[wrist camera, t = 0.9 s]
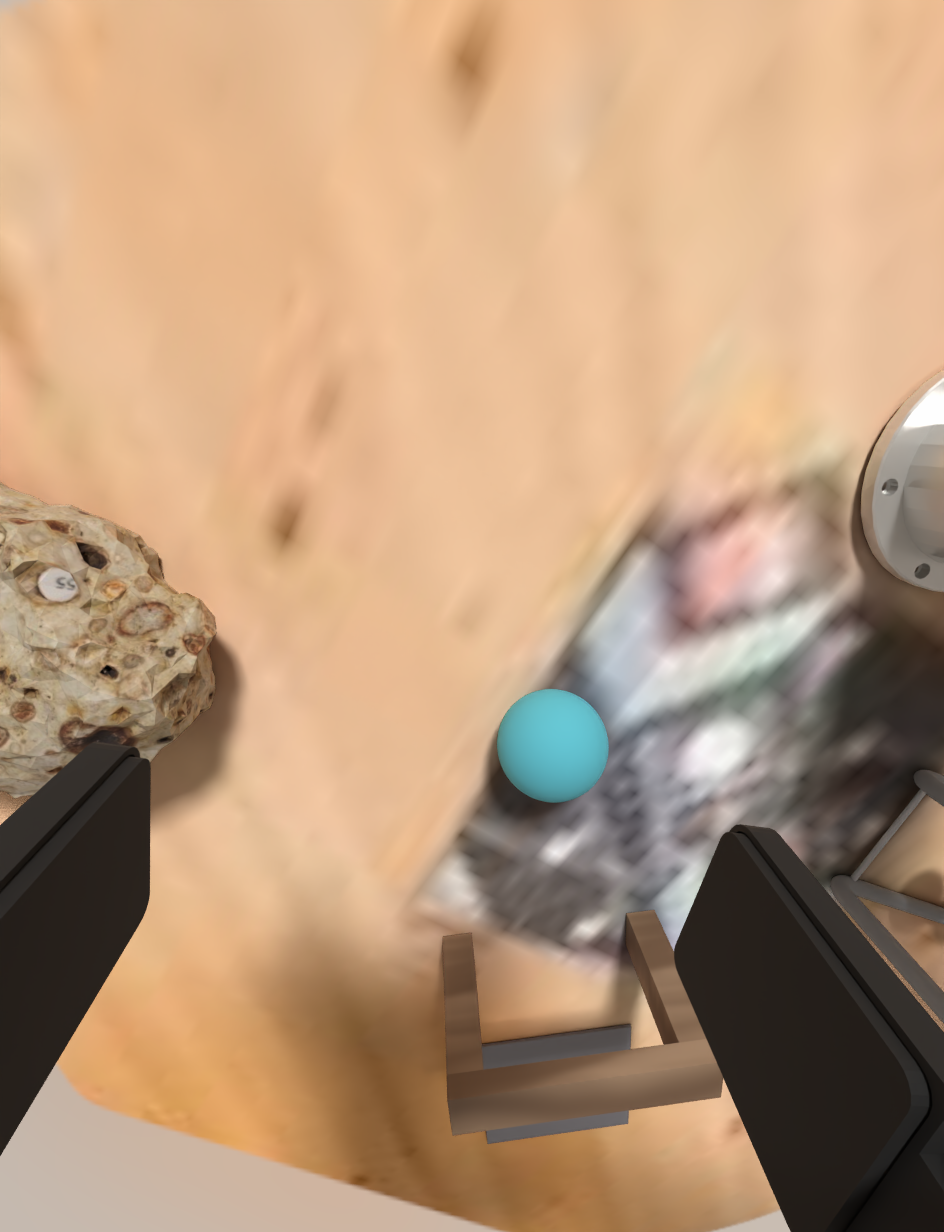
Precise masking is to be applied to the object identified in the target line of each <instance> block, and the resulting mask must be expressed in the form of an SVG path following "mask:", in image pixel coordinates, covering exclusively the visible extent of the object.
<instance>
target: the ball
mask: <svg viewBox="0 0 944 1232" xmlns="http://www.w3.org/2000/svg"><path fill="white" fill-rule="evenodd" d="M608 747H609V746H608V737H607V733H606V729H605V727H604V724H603V722H602V720H601V718H600V717H599V715H598V714H597V712H596V711H595V710H594V709H593V707H592V706H591V705H589V704H588V703H587V702H586V701H585V700H583V699H582V698H580V697H579V696H577V695H575V694H572V693H570V692H567V691H563V690H556V689H544V690H538V691H535V692H532V693H530V694H527V695H525V696H524V697H522V698H521V699H519V700H518V701H517V702H516V703H514V704H513V705H512V706H511V707H510V709H509V710H508V711H507V713H506V714H505V716H504V718H503V720H502V722H501V724H500V727H499V731H498V737H497V751H498V757H499V760H500V763H501V766H502V768H503V770H504V772H505V774H506V776H507V777H508V779H509V780H510V781H511V782H512V783H513V784H514V786H515V787H516V788H518V789H519V790H520V791H521V792H523V793H524V794H526V795H528V796H529V797H532V798H534V799H537V800H540V801H544V802H554V803H556V802H565V801H569V800H572V799H575V798H577V797H579V796H581V795H583V794H584V793H586V792H587V791H589V790H590V789H591V788H592V787H593V786H594V785H595V784H596V782H597V781H598V780H599V778H600V777H601V775H602V773H603V771H604V769H605V766H606V763H607V758H608Z"/></svg>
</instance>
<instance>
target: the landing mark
mask: <svg viewBox="0 0 944 1232" xmlns="http://www.w3.org/2000/svg"><path fill="white" fill-rule="evenodd" d="M630 1047H631V1025H630V1024H628V1025H621V1026H613V1027H606V1028H599V1029H591V1030H584V1031H576V1032H569V1033H562V1034H554V1035H547V1036H540V1037H532V1038H525V1039H518V1040H510V1041H503V1042H495V1043H488V1044H482V1054H483V1066H484V1069H492V1068H499V1067H506V1066H513V1065H521V1064H528V1063H535V1062H542V1061H550V1060H557V1059H564V1058H571V1057H579V1056H586V1055H593V1054H600V1053H608V1052H615V1051H622V1050H629V1049H630ZM628 1114H629V1110H628V1111H621V1112H614V1113H607V1114H600V1115H593V1116H586V1117H579V1118H572V1119H565V1120H558V1121H551V1122H544V1123H537V1124H530V1125H523V1126H516V1127H509V1128H502V1129H495V1130H488V1131H486V1133H487V1142H488V1144H491V1143H498V1142H505V1141H511V1140H518V1139H525V1138H532V1137H539V1136H546V1135H553V1134H560V1133H567V1132H574V1131H581V1130H588V1129H595V1128H602V1127H609V1126H616V1125H622V1124H628Z"/></svg>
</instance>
